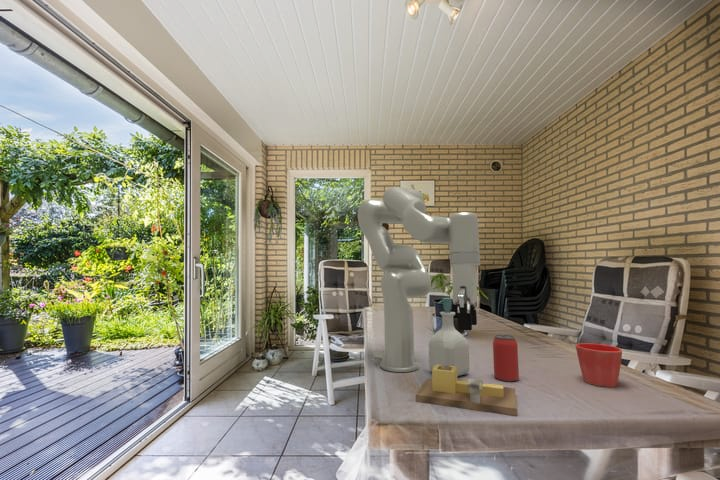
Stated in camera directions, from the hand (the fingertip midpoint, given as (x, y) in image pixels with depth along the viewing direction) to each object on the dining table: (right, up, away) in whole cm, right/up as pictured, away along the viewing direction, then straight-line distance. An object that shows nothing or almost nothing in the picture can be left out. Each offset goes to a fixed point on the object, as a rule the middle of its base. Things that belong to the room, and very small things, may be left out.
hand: (467, 327), depth 87 cm
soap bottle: (0, -19, +17) cm, 25 cm away
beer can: (+15, -18, +11) cm, 26 cm away
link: (-1, -15, -3) cm, 15 cm away
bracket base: (-1, -16, -3) cm, 17 cm away
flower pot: (+39, -18, +8) cm, 44 cm away
